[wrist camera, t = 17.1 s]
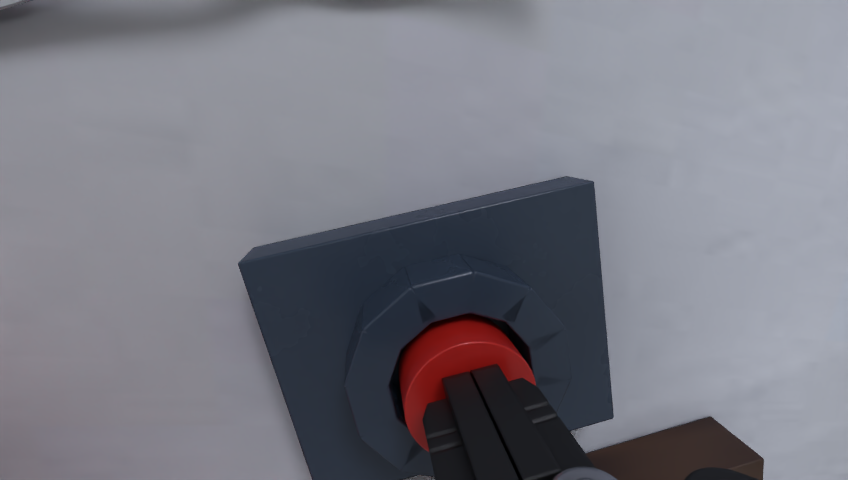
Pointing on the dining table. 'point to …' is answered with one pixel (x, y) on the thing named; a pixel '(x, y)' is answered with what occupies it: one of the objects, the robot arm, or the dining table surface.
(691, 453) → the control panel
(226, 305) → the dining table surface
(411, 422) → the red button
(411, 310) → the button box
